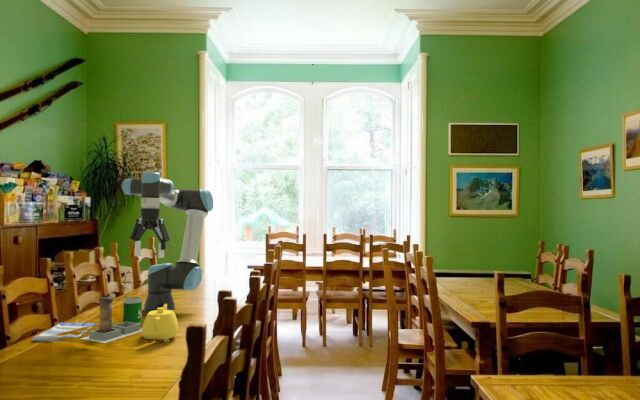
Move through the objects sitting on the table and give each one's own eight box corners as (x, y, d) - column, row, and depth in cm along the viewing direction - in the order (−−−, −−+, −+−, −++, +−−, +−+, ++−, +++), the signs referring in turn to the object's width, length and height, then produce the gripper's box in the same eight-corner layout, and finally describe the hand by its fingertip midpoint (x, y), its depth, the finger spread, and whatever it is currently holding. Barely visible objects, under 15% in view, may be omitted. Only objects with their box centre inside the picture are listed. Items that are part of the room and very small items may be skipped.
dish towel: (30, 343, 173) (30, 336, 173) (60, 327, 197) (60, 321, 197) (77, 343, 174) (77, 335, 175) (101, 327, 198) (101, 320, 198)
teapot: (181, 331, 191) (182, 302, 191) (173, 345, 171) (174, 312, 171) (148, 332, 189) (149, 302, 189) (136, 346, 169) (137, 313, 169)
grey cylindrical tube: (106, 334, 181) (107, 296, 181) (115, 335, 178) (116, 297, 179) (94, 337, 176) (95, 298, 176) (104, 339, 174) (105, 300, 174)
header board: (125, 328, 194) (125, 319, 194) (148, 332, 189) (148, 323, 189) (79, 341, 174) (80, 331, 174) (104, 346, 169) (104, 336, 169)
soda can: (134, 328, 195) (135, 300, 195) (119, 327, 197) (119, 299, 197) (144, 324, 202) (145, 297, 203) (129, 322, 204) (130, 296, 204)
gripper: (122, 207, 199) (121, 255, 198) (166, 208, 188) (165, 259, 188) (135, 207, 206) (134, 254, 205) (178, 208, 195) (177, 257, 195)
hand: (149, 256), depth 197 cm, fingers open, 13 cm apart
